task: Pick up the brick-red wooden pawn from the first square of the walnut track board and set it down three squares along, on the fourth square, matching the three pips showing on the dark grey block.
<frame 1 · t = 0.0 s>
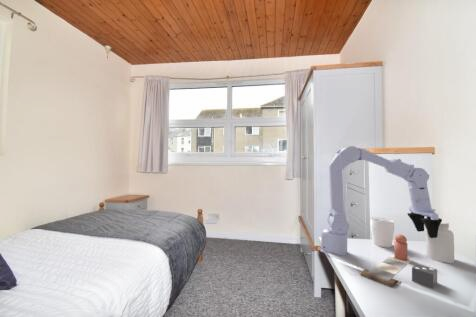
hand: (426, 234, 84), 11 cm above the table, tool pointing down, fingers open, 7 cm apart
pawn: (400, 258, 84), point 1 cm above the table, touching board
board: (391, 268, 78), on the table
pill bottle: (439, 261, 85), on the table
cup: (382, 247, 99), on the table
dark grey block: (424, 285, 67), on the table
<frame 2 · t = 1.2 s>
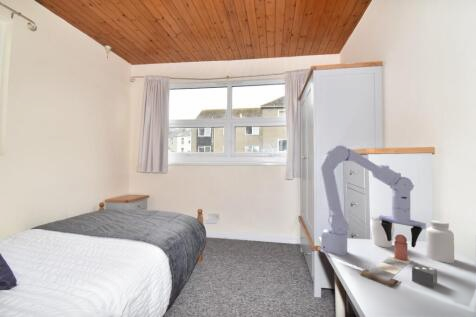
hand: (401, 243, 84), 7 cm above the table, tool pointing down, fingers open, 7 cm apart
nothing on the table moved.
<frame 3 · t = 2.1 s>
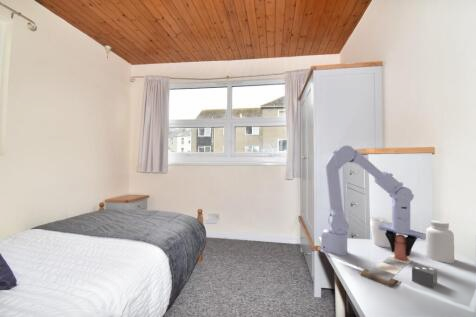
hand: (400, 253, 84), 3 cm above the table, tool pointing down, fingers closed on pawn, 4 cm apart
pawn: (400, 258, 84), point 1 cm above the table, touching board, gripper
everything else where it was.
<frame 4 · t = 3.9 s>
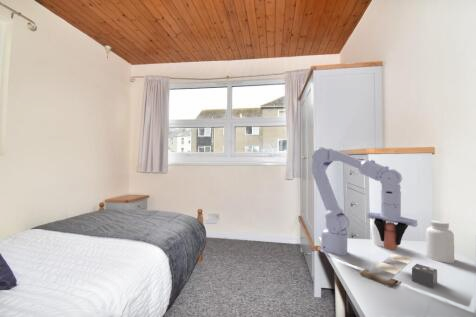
hand: (390, 242, 78), 9 cm above the table, tool pointing down, fingers closed on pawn, 4 cm apart
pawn: (390, 248, 78), point 7 cm above the table, touching gripper
everything else where it was.
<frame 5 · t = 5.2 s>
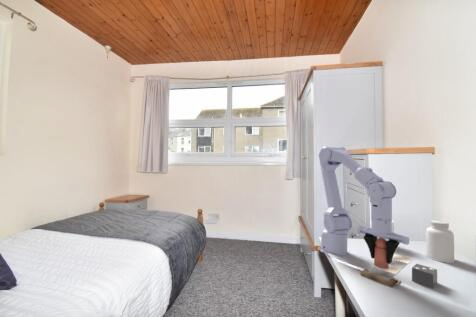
hand: (381, 260, 72), 5 cm above the table, tool pointing down, fingers closed on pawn, 4 cm apart
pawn: (381, 266, 72), point 4 cm above the table, touching gripper
everything else where it was.
when the fingers open (4 cm above the table, at t = 5.9 s): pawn stays where it is, resting on board.
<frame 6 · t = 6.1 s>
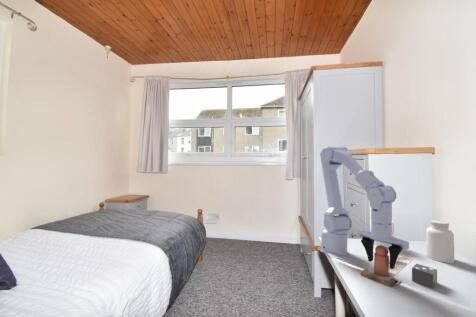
hand: (381, 264, 72), 4 cm above the table, tool pointing down, fingers open, 6 cm apart
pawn: (381, 273, 72), point 1 cm above the table, touching board
everything else where it was.
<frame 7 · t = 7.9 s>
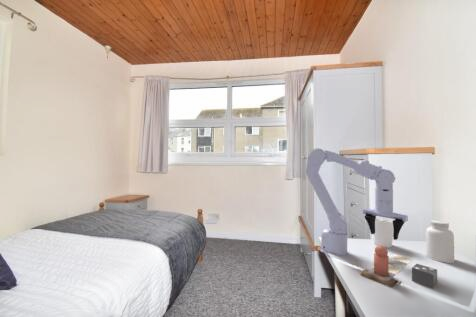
hand: (383, 236, 84), 9 cm above the table, tool pointing down, fingers open, 7 cm apart
nothing on the table moved.
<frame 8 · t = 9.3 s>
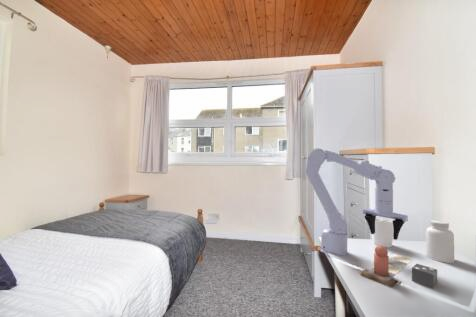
hand: (383, 236, 84), 9 cm above the table, tool pointing down, fingers open, 7 cm apart
nothing on the table moved.
at the end: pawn 0.1 cm from the target spot on the board, point 1.1 cm above the board's base; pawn tilted 0°; the gripper is holding nothing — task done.
